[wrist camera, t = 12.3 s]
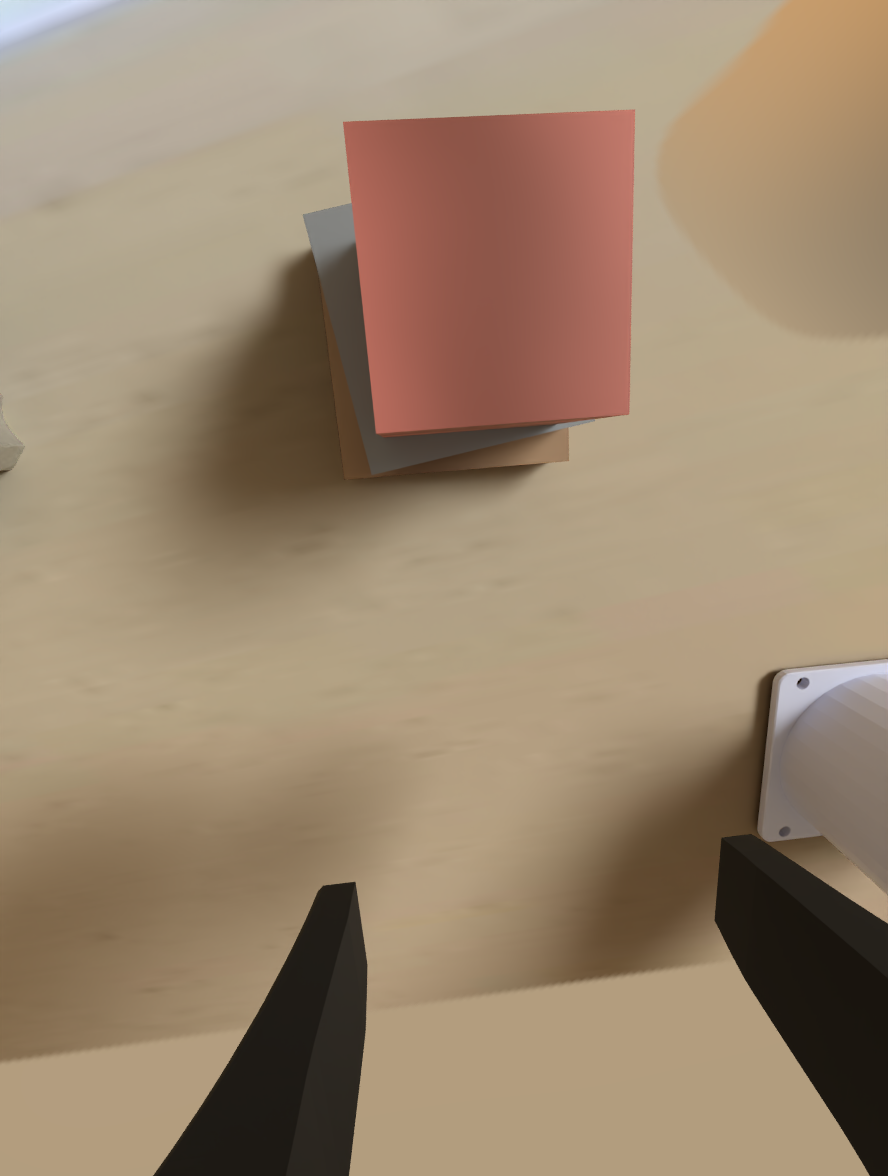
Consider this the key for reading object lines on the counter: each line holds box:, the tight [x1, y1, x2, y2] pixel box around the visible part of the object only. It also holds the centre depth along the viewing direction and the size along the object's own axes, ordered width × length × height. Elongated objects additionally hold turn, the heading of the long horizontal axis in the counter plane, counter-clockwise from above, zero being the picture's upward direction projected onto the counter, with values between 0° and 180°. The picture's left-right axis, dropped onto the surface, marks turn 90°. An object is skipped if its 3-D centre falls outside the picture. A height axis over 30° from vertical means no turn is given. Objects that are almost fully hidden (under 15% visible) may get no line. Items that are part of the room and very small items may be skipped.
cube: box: [343, 110, 635, 437], centre depth 11 cm, size 4×4×4 cm
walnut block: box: [318, 274, 569, 480], centre depth 16 cm, size 7×7×2 cm
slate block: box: [303, 203, 595, 475], centre depth 14 cm, size 6×6×2 cm
